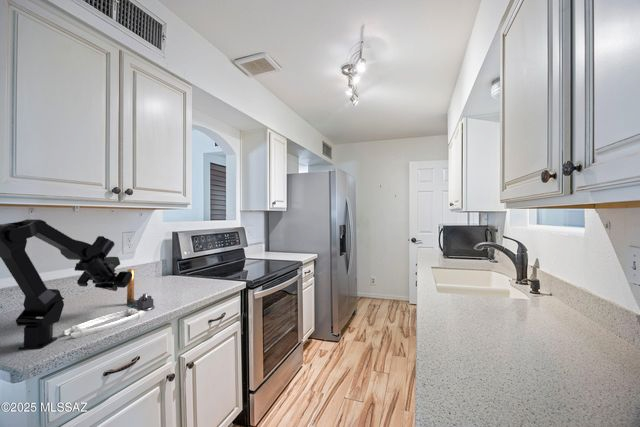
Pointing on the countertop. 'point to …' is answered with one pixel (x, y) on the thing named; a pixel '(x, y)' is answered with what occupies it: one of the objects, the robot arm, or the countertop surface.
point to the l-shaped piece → (140, 302)
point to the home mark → (131, 305)
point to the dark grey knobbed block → (145, 308)
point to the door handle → (83, 331)
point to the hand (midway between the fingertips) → (116, 290)
